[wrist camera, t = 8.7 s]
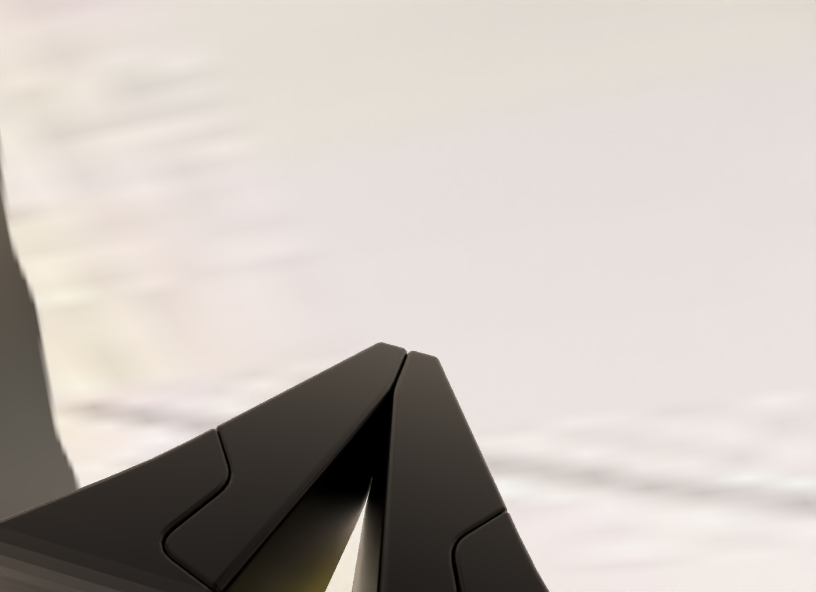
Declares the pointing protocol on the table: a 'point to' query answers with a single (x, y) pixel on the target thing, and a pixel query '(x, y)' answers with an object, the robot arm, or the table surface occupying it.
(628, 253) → the table surface
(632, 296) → the table surface
